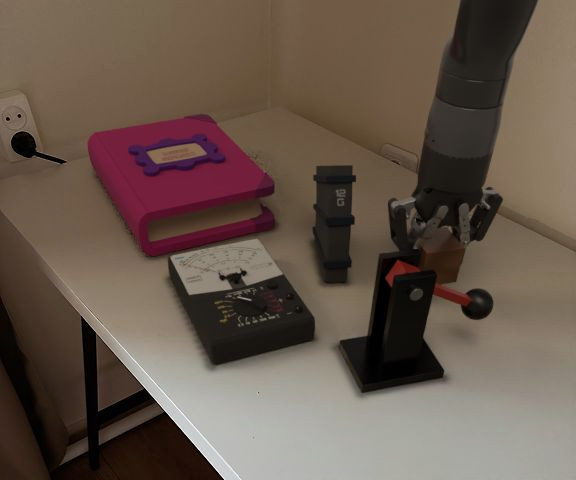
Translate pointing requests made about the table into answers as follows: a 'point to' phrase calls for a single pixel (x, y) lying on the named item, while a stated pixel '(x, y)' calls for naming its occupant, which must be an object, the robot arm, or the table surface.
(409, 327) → the bracket
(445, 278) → the block
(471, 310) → the lever
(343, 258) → the magazine
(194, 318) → the multimeter
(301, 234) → the table surface
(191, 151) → the book
